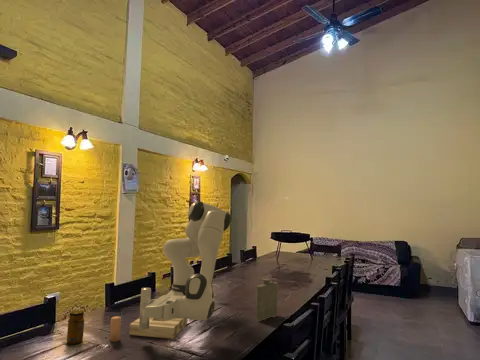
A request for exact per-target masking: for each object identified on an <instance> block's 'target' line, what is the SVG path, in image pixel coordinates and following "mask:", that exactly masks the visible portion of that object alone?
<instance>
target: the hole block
mask: <svg viewBox="0 0 480 360" xmlns="http://www.w3.org/2000/svg"><path fill="white" fill-rule="evenodd" d="M139 322H140V317H138V318H137V319H135V320H134V321H132V322H131V323H129V335H130V336H142V337H151V338H160V339H161V338H163V339H175V338H176V337H177V335H179V333H181V331H182V330H183V329H184V328H185V327H186V326H187V325H188V318H183V319H178V318H176V319H171V320H168V321H165V320H163V318H162V319H157V318H150V320H149V328H148V329H145V330H142V329H139Z"/></svg>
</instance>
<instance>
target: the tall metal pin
mask: <svg viewBox="0 0 480 360" xmlns="http://www.w3.org/2000/svg"><path fill="white" fill-rule="evenodd" d="M151 296H152V288H151V287H142V288H141V290H140V303H139V305H140V304H142V303H145V304H150V301H151V300H152V298H151ZM144 310H145V309H141V308H140V307H139V318H140V322H139V329H142V330H145V329H148V328H149V320H150V317H146V316H145V315H144Z"/></svg>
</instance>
